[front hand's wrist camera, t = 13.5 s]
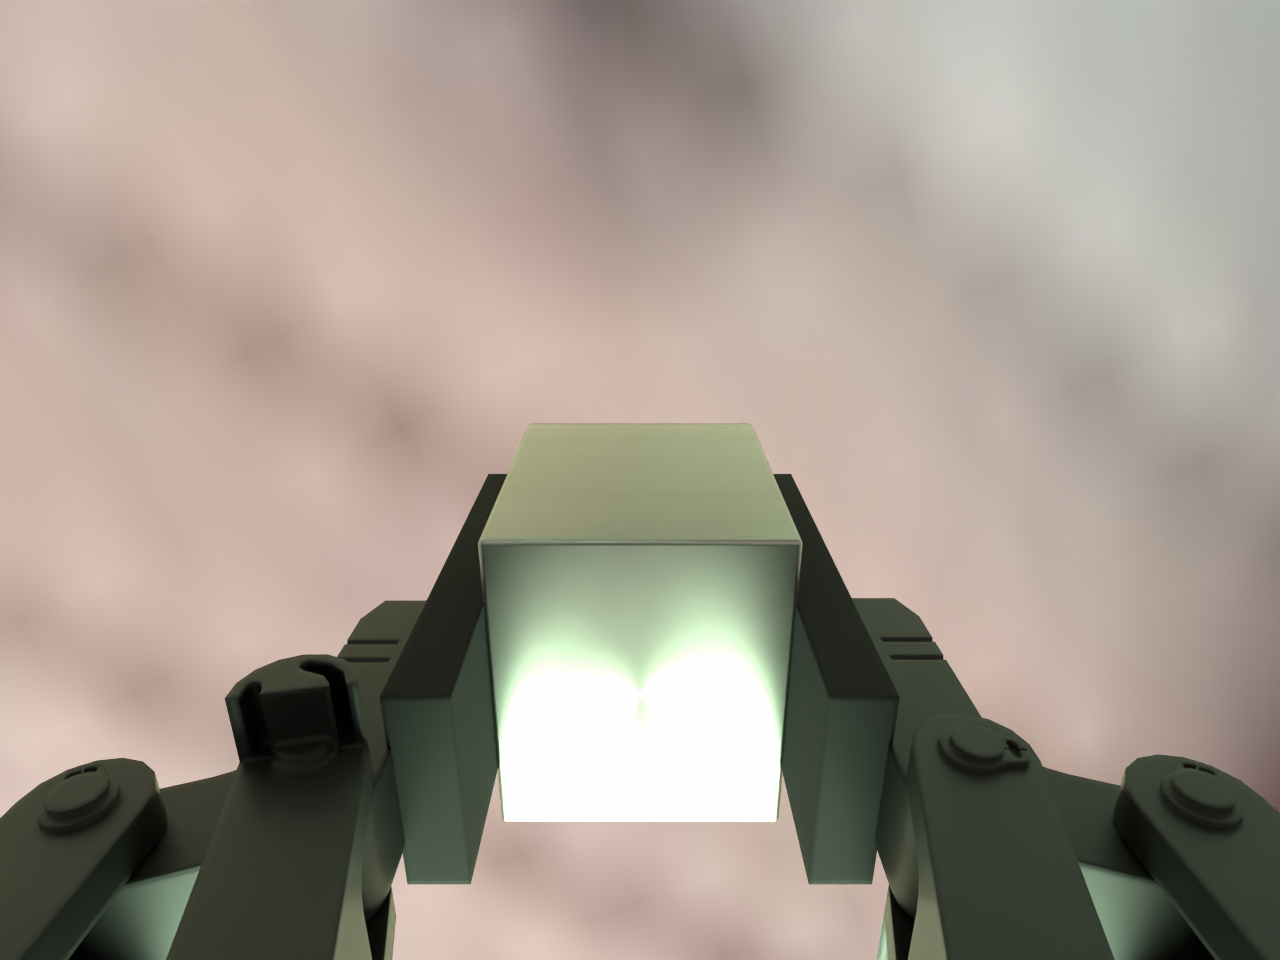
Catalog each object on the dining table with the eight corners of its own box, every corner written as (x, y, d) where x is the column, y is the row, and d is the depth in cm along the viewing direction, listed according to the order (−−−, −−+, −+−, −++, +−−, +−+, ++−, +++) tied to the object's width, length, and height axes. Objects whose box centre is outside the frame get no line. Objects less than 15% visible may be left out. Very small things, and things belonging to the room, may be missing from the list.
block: (740, 639, 16) (779, 824, 11) (539, 638, 16) (500, 824, 11) (752, 422, 14) (803, 540, 10) (527, 422, 14) (476, 540, 10)
